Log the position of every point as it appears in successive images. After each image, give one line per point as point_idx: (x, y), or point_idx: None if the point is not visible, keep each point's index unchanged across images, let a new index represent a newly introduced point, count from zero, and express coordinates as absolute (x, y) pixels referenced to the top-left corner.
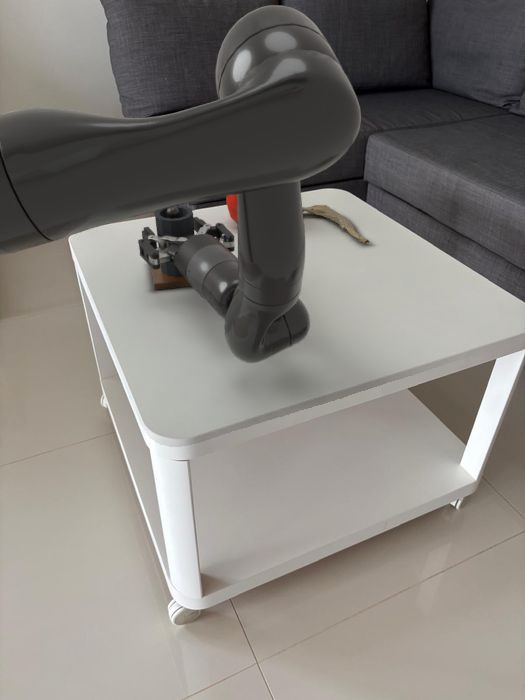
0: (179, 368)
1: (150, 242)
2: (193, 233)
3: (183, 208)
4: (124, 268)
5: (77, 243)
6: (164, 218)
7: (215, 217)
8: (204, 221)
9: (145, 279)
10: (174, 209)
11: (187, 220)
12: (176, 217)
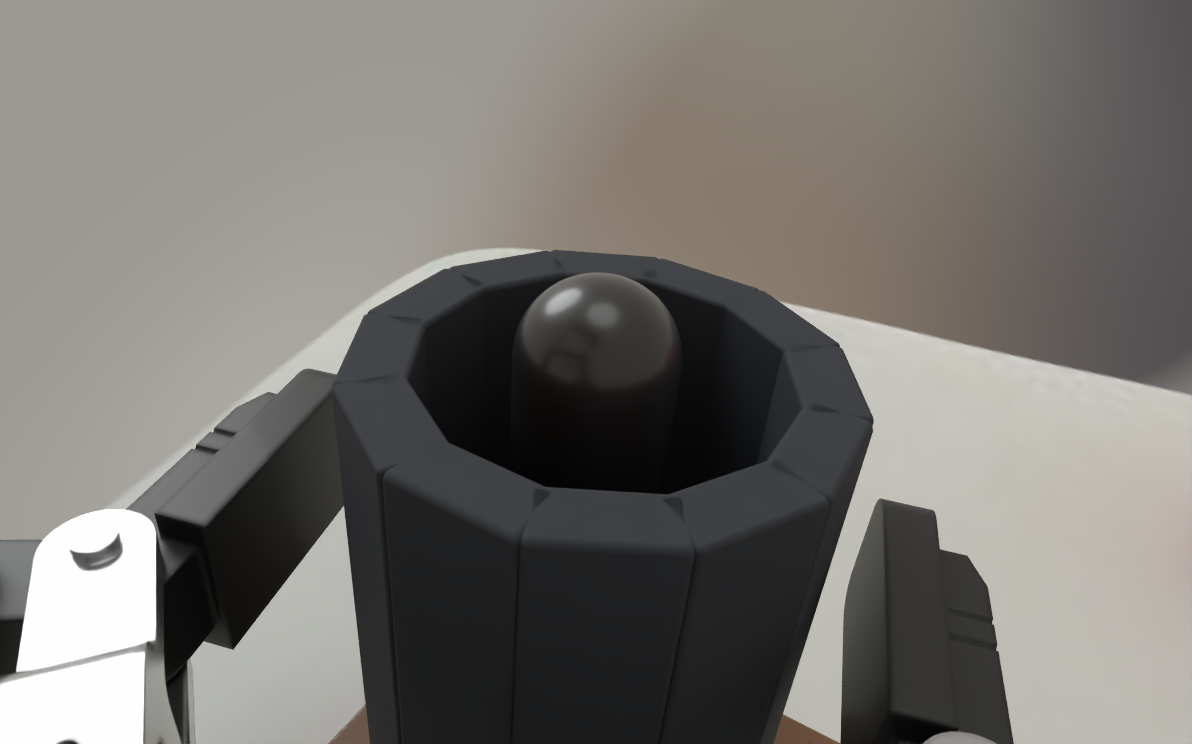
0: None
1: (8, 617)
2: (739, 729)
3: (787, 359)
4: (345, 538)
5: (400, 283)
6: (384, 389)
7: (1164, 454)
8: (994, 633)
9: (305, 733)
10: (594, 328)
11: (649, 585)
12: (583, 441)
